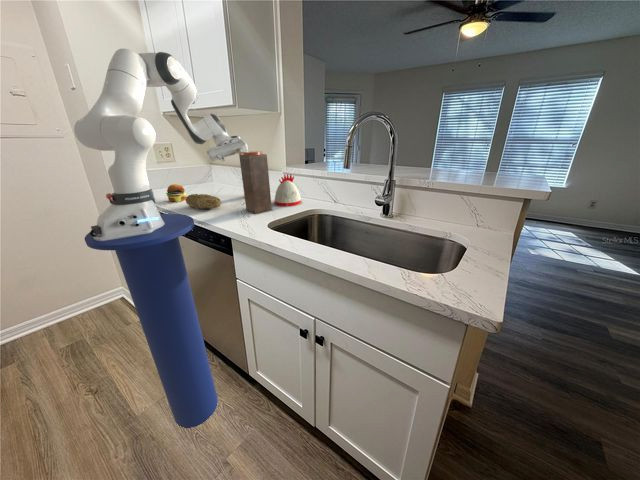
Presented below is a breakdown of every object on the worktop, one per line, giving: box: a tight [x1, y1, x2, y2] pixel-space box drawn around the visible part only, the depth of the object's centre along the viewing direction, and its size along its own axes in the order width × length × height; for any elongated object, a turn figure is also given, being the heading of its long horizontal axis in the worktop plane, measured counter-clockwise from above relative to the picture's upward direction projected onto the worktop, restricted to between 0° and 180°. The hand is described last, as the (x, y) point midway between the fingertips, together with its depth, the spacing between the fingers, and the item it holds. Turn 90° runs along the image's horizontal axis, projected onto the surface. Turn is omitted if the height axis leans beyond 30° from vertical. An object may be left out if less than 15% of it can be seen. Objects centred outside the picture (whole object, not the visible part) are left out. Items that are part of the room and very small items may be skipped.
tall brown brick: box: [238, 153, 273, 215], centre depth 122 cm, size 9×9×26 cm
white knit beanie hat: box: [274, 173, 302, 207], centre depth 137 cm, size 14×14×15 cm
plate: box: [235, 150, 263, 155], centre depth 120 cm, size 8×19×1 cm, turn 42°
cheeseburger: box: [165, 184, 188, 203], centre depth 148 cm, size 10×11×10 cm
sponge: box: [185, 193, 222, 210], centre depth 132 cm, size 13×8×20 cm
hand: (232, 157), depth 133 cm, fingers open, 8 cm apart
